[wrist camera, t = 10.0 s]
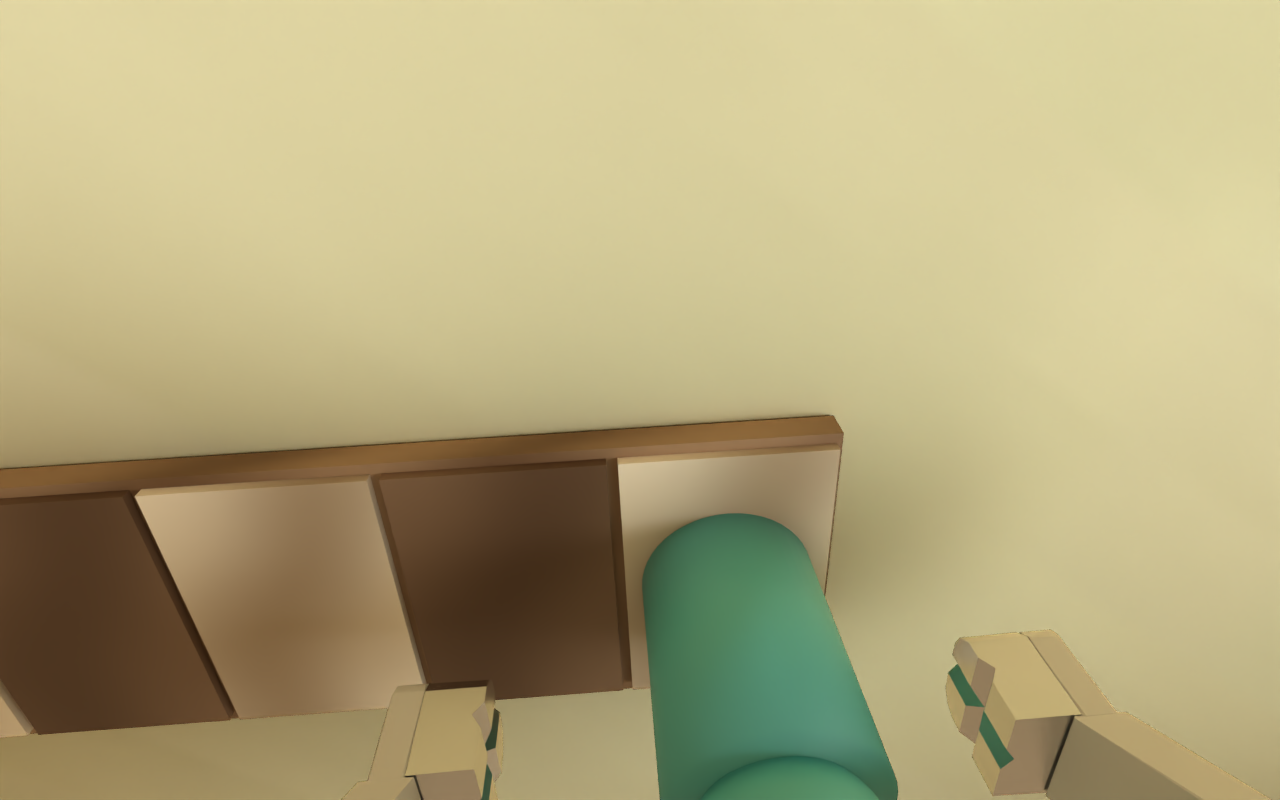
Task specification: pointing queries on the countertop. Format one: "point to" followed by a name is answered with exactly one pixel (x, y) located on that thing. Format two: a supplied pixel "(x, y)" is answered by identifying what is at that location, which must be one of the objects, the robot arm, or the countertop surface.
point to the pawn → (752, 672)
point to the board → (367, 568)
